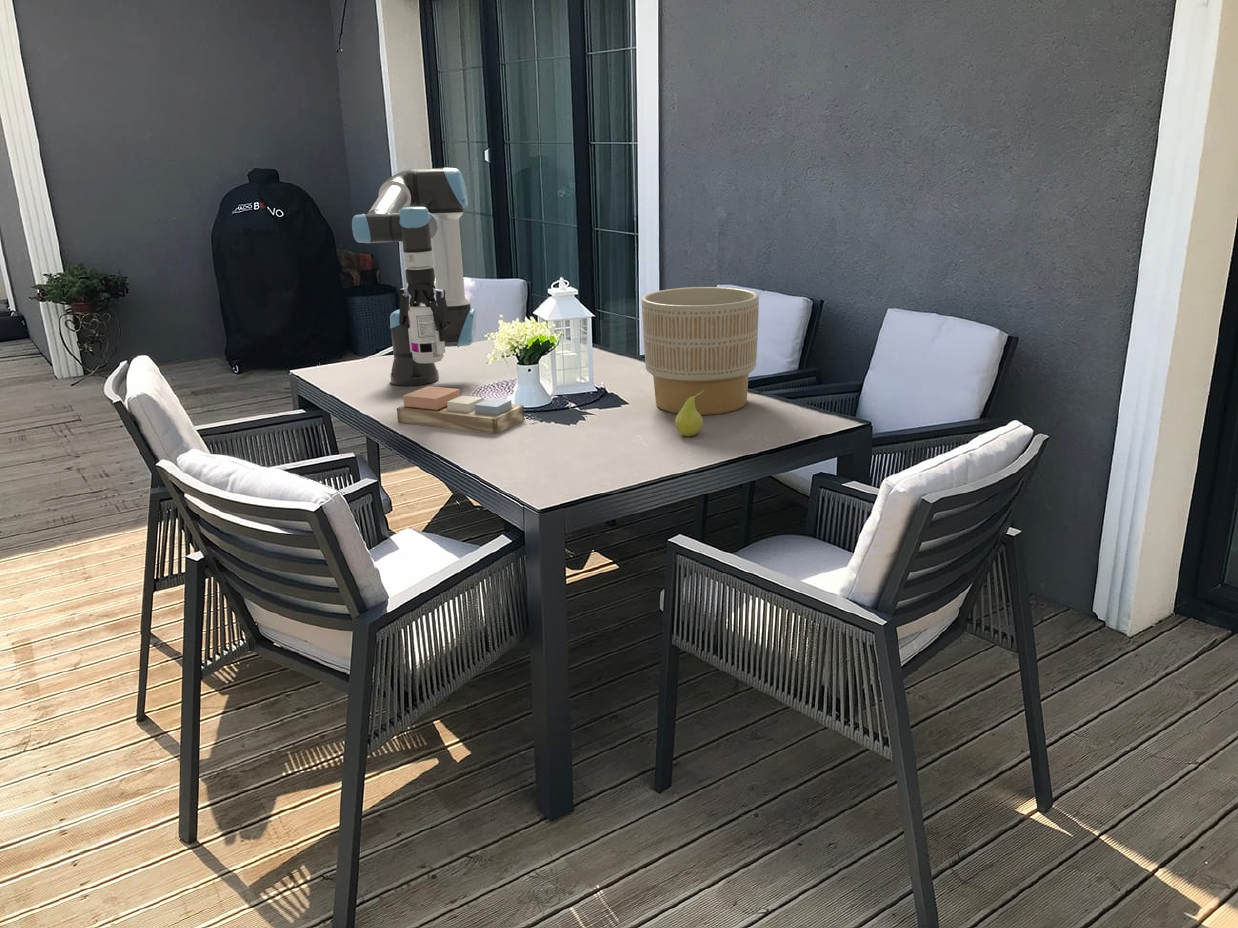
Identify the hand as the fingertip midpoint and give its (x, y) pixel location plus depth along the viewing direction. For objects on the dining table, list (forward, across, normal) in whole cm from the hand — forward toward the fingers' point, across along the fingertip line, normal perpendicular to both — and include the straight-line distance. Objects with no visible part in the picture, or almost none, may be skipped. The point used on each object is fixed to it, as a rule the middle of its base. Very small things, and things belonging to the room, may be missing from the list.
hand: (427, 352), depth 270 cm
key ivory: (+17, +11, 0) cm, 20 cm away
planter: (+19, +64, +38) cm, 77 cm away
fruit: (+19, +73, +9) cm, 76 cm away
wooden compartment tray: (+19, +9, 0) cm, 21 cm away
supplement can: (+2, 0, 0) cm, 2 cm away
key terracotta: (+16, 0, 0) cm, 16 cm away
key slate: (+17, +20, 0) cm, 26 cm away
